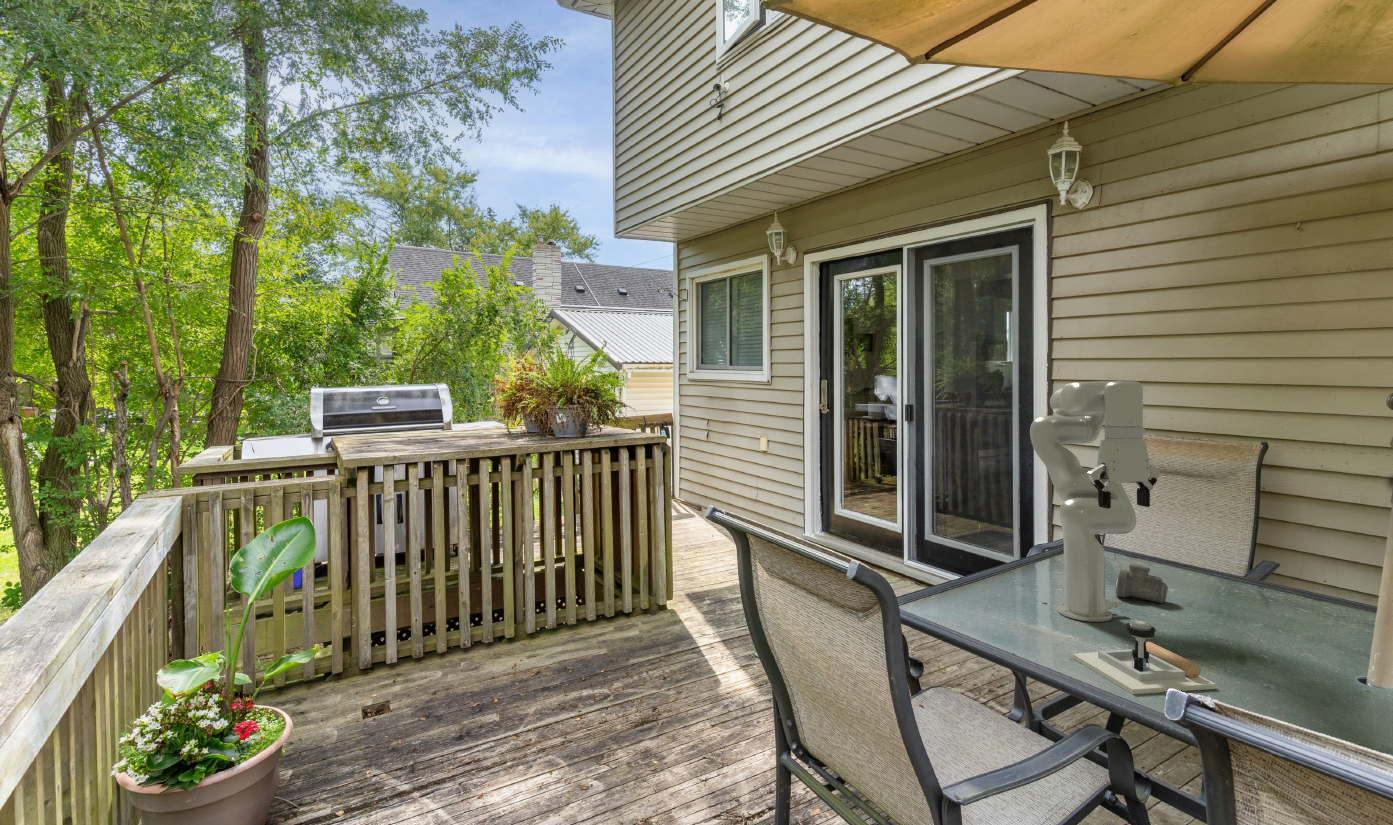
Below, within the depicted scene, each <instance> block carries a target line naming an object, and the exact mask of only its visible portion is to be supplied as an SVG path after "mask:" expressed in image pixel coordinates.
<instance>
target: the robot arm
mask: <svg viewBox="0 0 1393 825" xmlns="http://www.w3.org/2000/svg"><path fill="white" fill-rule="evenodd" d="M1049 406H1050V408H1051V409H1052V411H1053V413H1054V412H1055V414H1057V415H1055V414H1054V415H1044V416H1041V417H1038V418H1035V419H1034V420H1033V421H1032V422H1031V425H1030V427H1029V428H1030V429H1029V435H1030V442H1031V444H1032V447H1033V449H1034V452H1035V453H1036V455H1037V456H1038V458H1039V459H1040V461H1042V463H1043V464H1044V466H1045V467H1046V470H1047V472H1048V474H1049V477H1050V480H1051V483H1052V485H1053V488H1054V491H1055V492H1056V495H1057V496H1058V497H1059V498H1060V499H1061V500H1062V501H1063V502H1062V503H1061V505H1060V506H1059V518H1060V524H1061V529H1062V536H1063V537H1062V539H1063V578H1064V579H1063V588H1064V589H1063V590H1064V592H1063V594H1064V595H1063V596H1064V597H1063V598H1064V599H1063V602H1064V603H1061V604H1058V606H1057V611H1058V614H1061V615H1062V616H1064V617H1067V618H1070V619H1073V620H1077V621H1083V622H1094V623H1098V622H1100V623H1101V622H1102V623H1103V622H1108V621H1110V620H1112V619H1113V612H1112V611H1111V609H1112V608H1115V609H1116V608H1122V607H1123V602H1122V600H1120V599H1115V600H1113V599H1112V600H1111V599H1110V598H1109V597H1108V598H1106V553H1105V549H1104V546H1103V545H1102V544H1101V543H1100V542H1099V541H1098V540H1097V539H1096V537H1095V535H1124V534H1129V533H1132V532H1133V531H1134V530H1135V528H1136V526H1137V515H1136V512H1135V508H1134V506H1133V504H1132V502H1131V500H1130V497H1129V496H1128V494H1127V491H1126V490H1125V487H1124V486H1123V484H1125V483H1126V484H1127V483H1128V484H1129V483H1130V484H1131V483H1133V484H1134V483H1136V485H1137V486H1138V488H1137V489H1136V505H1138V506H1140V507H1145V508H1150V507H1151V490H1153V489H1154V486H1155V485H1156V483H1157V482H1158V478H1159V476H1160V474H1161V471H1160V469H1158V468H1156V467H1154V466H1152V465H1150V458H1149V453H1148V452H1149V451H1148V446H1147V442H1146V440H1145V439H1144V435H1146V434H1147V430H1146V428H1144V387H1143V385H1142V383H1140V382H1139V381H1133V380H1132V381H1131V380H1130V381H1129V380H1126V381H1124V380H1109V381H1108V380H1100V381H1099V380H1098V381H1094V380H1093V381H1079V382H1078V381H1077V382H1076V381H1075V382H1070V383H1067V384H1064V386H1063V387H1062V388H1059V389H1057V390H1056V391H1054V393H1052V395H1051V396H1050V399H1049ZM1103 426H1104V439H1101V440H1100V443H1099V448H1098V452H1097V461H1096V467H1094V468H1085V467H1082V465H1081V463H1080V460H1079V459H1078V458H1079V457H1077V456H1076V454H1075V453H1073V452H1072V451H1071V450H1069V449H1068V448H1066V447H1065V446H1064V445H1068V444H1070V445H1071V444H1074V445H1075V444H1077V445H1078V444H1081V445H1082V444H1090V443H1093V442H1096V440H1097V439H1098V437H1099V435H1100V433H1101V431H1102V429H1103Z"/></svg>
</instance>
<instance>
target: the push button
mask: <svg viewBox="0 0 1393 825" xmlns="http://www.w3.org/2000/svg"><path fill="white" fill-rule="evenodd" d="M1129 621H1130V622H1127V623H1125V628H1126V632H1127V634H1129V635H1130V636H1131V637H1134V638H1135V639H1134V648H1131V649H1132V656H1133V659H1132V667H1133V661H1134V669H1136V670H1138V671H1140V672H1146V663H1149V661H1148V659H1149V652H1148V651H1146V642H1147V641H1146V640H1149V639H1151V638H1154V637H1156V636H1155V635H1156V634H1155V632H1156V630H1157V629H1156V628H1155V627H1154V626H1152V625H1151V624H1152V623H1151V622H1149V621H1148V620H1143V619H1131V620H1129Z"/></svg>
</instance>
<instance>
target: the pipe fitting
mask: <svg viewBox="0 0 1393 825" xmlns="http://www.w3.org/2000/svg"><path fill="white" fill-rule="evenodd" d="M1128 568H1129V570H1126V569H1124V568H1123V569H1122V568H1121V569H1120V570H1119V572H1118V576H1117V579H1116V585H1115V586H1116V588H1115V589H1116V590H1115V595H1116V597H1119V598H1123V599H1125V598H1128V597H1134V598H1138V599H1140V600H1141V599H1142V600H1145V601H1150V602H1153V603H1156V604H1157V603H1158V604H1161V603H1162V604H1164V603H1165V602H1166V600H1167V596H1168V590H1169V587H1168V585H1167V583H1166V582H1163V579H1162V578H1161V576H1157V575H1151V574H1149V573H1150V570H1151V568H1150V567H1149V566H1146V565H1143V564H1137V563H1133V562H1131V563H1128Z"/></svg>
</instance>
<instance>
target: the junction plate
mask: <svg viewBox="0 0 1393 825" xmlns="http://www.w3.org/2000/svg"><path fill="white" fill-rule="evenodd" d="M1132 649H1133V648H1130V649H1118V650H1117V649H1114V650H1100V651H1093V652H1092V651H1091V652H1078V653H1077V652H1076V653H1072V654H1071V658H1072V659H1073V660H1075V661H1076V662H1078V663H1079V664H1081V665H1082V666H1085V667H1086V668H1088V669H1090V670H1092V671H1093V672H1095V673H1096V674H1099V675H1100V676H1101V677H1103V678H1104V679H1106V680H1108V681H1109V682H1111V683H1113V684H1115V685H1117V686H1118V687H1120V688H1121V689H1123V690H1125V691H1127V692H1128V693H1130V694H1131V695H1141V694H1142V695H1144V694H1158V693H1167V692H1166V690H1168V689H1169V688H1175V689H1179V690H1182V691H1181V692H1188V691H1189V692H1190V691H1205V690H1215V689H1217V684H1216V683H1215V682H1213V681H1211V680H1209V679H1207V678H1205V677H1203V676H1202V675H1201V671H1202V670H1201V668H1202V667H1201V666H1200V665H1199V664H1197V663H1195V662H1194V661H1191V660H1189V659H1187V658H1185V657H1183V656H1180V655H1178V654H1177V653H1174V652H1173V651H1170V650H1168V649H1166V648H1164V647H1162V646H1160V645H1157V644H1155V643H1154V642H1152V641H1146V651H1148V652H1149V659H1148V661H1149V663H1146V672H1140V671H1138V670H1136V669H1134V661H1133V667H1132V659H1133V656H1132ZM1164 691H1165V692H1164Z"/></svg>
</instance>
